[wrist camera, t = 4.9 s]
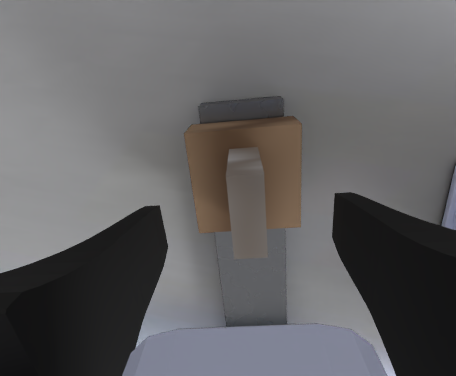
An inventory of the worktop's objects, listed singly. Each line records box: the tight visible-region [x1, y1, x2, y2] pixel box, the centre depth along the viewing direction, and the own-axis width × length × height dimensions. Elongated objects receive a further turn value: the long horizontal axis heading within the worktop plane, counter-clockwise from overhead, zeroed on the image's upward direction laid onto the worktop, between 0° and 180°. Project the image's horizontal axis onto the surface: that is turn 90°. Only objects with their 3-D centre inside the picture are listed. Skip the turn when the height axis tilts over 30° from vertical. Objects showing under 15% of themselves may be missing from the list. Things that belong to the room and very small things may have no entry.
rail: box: [198, 96, 287, 327], centre depth 21 cm, size 5×20×2 cm, turn 5°
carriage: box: [184, 116, 302, 259], centre depth 15 cm, size 6×6×6 cm
